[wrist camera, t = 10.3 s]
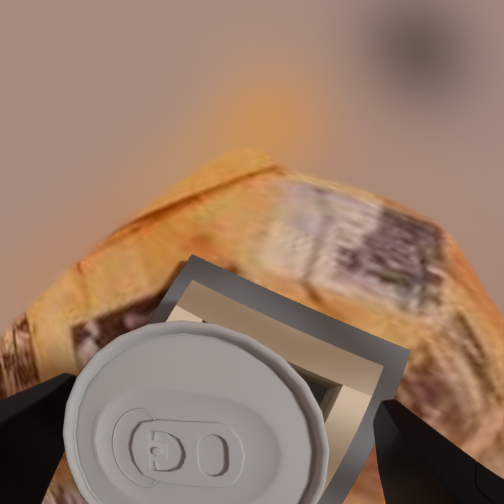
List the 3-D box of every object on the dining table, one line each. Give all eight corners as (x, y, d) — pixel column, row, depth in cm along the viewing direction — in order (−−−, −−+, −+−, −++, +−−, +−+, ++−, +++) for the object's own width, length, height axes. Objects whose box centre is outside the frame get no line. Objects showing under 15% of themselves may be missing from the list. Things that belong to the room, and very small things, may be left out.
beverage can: (194, 379, 15) (66, 309, 5) (282, 377, 15) (326, 305, 5) (196, 460, 13) (68, 537, 3) (287, 460, 13) (338, 565, 2)
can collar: (296, 558, 10) (304, 592, 6) (84, 445, 14) (42, 448, 10) (403, 353, 16) (439, 335, 12) (195, 261, 20) (179, 223, 16)
